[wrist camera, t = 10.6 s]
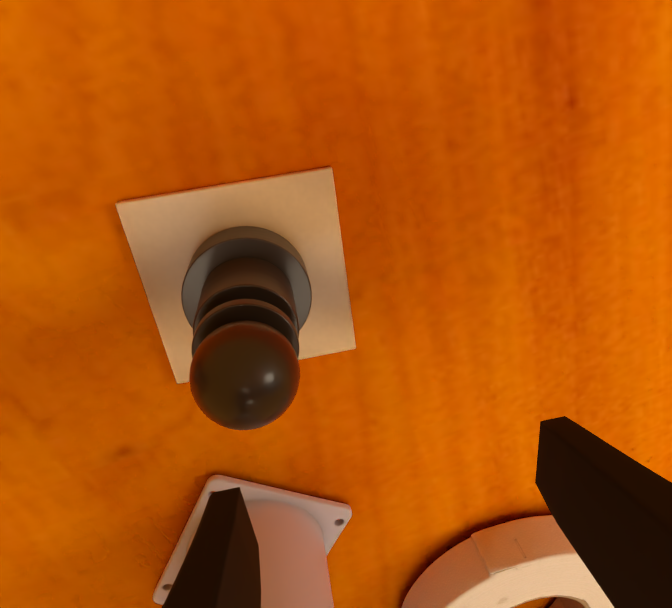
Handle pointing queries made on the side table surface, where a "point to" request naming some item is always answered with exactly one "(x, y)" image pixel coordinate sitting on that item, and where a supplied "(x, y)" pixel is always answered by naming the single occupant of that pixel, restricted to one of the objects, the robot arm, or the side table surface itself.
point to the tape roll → (509, 570)
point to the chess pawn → (245, 325)
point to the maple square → (232, 211)
